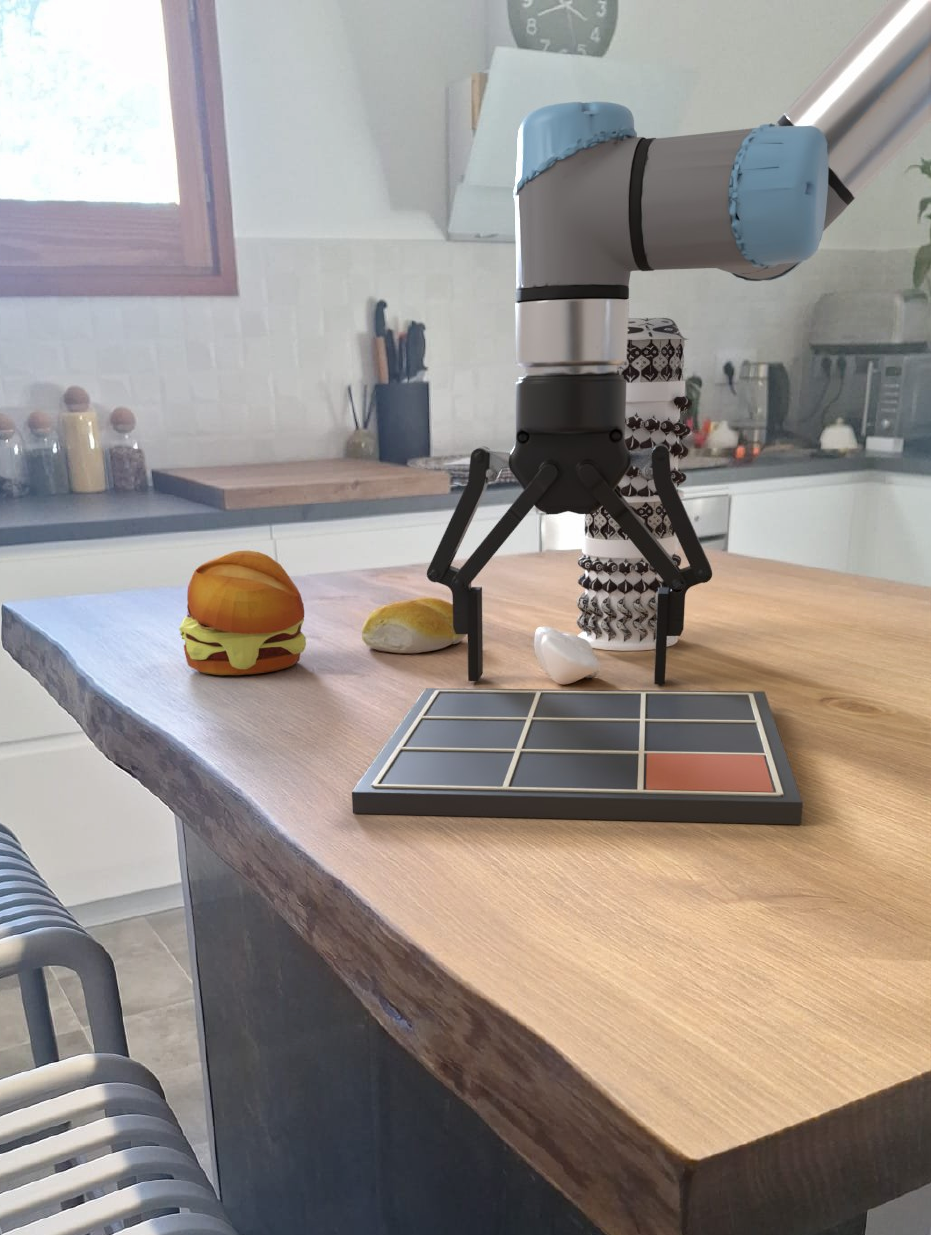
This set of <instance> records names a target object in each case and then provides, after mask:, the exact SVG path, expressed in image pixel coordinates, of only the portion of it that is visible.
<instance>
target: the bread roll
mask: <svg viewBox="0 0 931 1235" xmlns="http://www.w3.org/2000/svg"><path fill="white" fill-rule="evenodd" d="M466 636H467V634H456V633H455V631H454V628H453V603H451V602H449V601H447V600H445V599H442V598H439V597H433V596H420V597H416V598H413V599H409V600H399V601H394V602H390V603H387V604H385V605H382V606H379V607H377V608H376V609H374V610H372V611H371V612H370V613H369V614H368V616H367V618H366V619H365V621H364V623H363V625H362V628H361V639H362V641H363V643H364V644H365V645H366V646H367V647H369V648H371V649H373V650H376V651H379V652H386V653H391V654H421V653H428V652H433V651H438V650H441V649H445V648H447V647H449V646H450V645H455V644H459V643H461V642H462V641H463V640H464V638H465V637H466Z"/></svg>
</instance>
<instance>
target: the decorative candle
mask: <svg viewBox="0 0 931 1235" xmlns="http://www.w3.org/2000/svg"><path fill="white" fill-rule="evenodd" d="M687 340H689V338H686V337H684V336H683V335H682V333H681V331H680V330H679V327H678V324H677V323H676V321H674V320H673V319H672V318H668V317H634V318H633V317H631V318H629V317H628V339H627V361H626V362H625V363H624V364H620V365H618V370H619V375H624V379H625V380H626V412H625V442H626V445H627V447H628V449H629V451H631V450H639V449H646V448H653V447H654V446H656V445H657V444H664V445H666V446H667V447H668V450H669V456H670V470H671V478H672V480H673V483H674V485H675V487H676V489H677V492H678V494H679V496H680V498H681V499H682V498H683V499H684V498H685V492H684V491H683V490H682V489H679V488H678V487H679V486H680V485H681V484H683V483H684V482H686V480H687V475H686V473H684V472H683V471H681V470H680V469H679V461H680V462H681V461H682V459H684V458H686V457H687V456H688V455H689V452H690V451H689V448H688V447H687V446H686V445H684V443H683V442H682V441H683V439H685V438H687V437H688V436H689V435H690V433H691V432H692V431H691V430H692V429H691V427H690V426H689V425H687V424H685V422H684V421H682V422H681V421H680V420H681V414H682V413H683V414H685V413H686V412H688V411H690V410H691V409H692V408H693V405H694V401H693V399H691V398H690V397H688V396H687V395H685V394H686V380H684V374H683V369H684V365H685V355H684V348H685V341H687ZM616 489H617V490H618V491H619V492H620V494H621V495H622V496H623V497H624V499H625V500H626V501H627V502H628V504H629V506H630V507H631V508H632V509H633V511H634V512H635V513H636V514H637V516H638V517H639V518H640V519H641V521H642V522H643V523H644V524H645V526H646V527H647V528H648V529H649V531H650V532H651V533H652V534H653V536H654V537H655V538H656V539H657V541H658V542H659V543H660V544H661V546H662V547H663V548H664V549H665V551H666V552H667V553H668V554H669V556H670V557H671V558H672V559H673V561H674V562H675V563H676V564H677V566H678V567H681V563H682V557H681V556H679V555H678V554H677V553H678V552H679V544H680V542H679V540H678V538H677V536H676V533H675V531H674V529H673V527H672V525H671V522H670V520H669V518H668V516H667V513H666V511H665V509H664V507H663V505H662V502H661V500H660V498H659V496H658V493H657V491H656V488H655V484H654V480H646V479H645V478H643V476H642V474H641V472H640V470H639V469H638V468H637V467H635V466H630V468H629V470H628V471H627V473H626V474H625V475H624V477H623V478H622V480H621V481H620V482H619V484H618V485H617V486H616ZM583 530H584V533H583V534H582V535H581V552H582V553H583V555H581V556H580V557H579V558H578V560H577V565H578V566H579V567H580V568H582V569H583V570H584V571H585V572H584V573H582V574H581V575H580V576H579V578H578V579H577V584H578V585H579V586H580V587H582V588H583V589H584V591H583V593H582V594H581V595H579V597H578V598H577V600H576V606H577V608H578V610H579V611H581V613H580V614H579V615H578V617H577V619H576V625H577V626H578V628H579V629H580V630H581V631H582V632H580V633H578V635H577V636H579V637H581V638H583V639H585V640H587V641H588V643H589V644H590V645H591V647H592V649H598V650H604V651H619V652H620V651H621V652H630V651H631V652H632V651H635V652H637V651H649V650H650V651H651V650H655V646H656V622H657V598H658V587H668V586H667V584H666V583H665V582H664V581H663V579H662V578H661V577H660V576H659V575H658V573H657V572H656V571H655V570H654V568H653V567H652V566H651V565H650V563H649V562H648V561H647V560H646V558H645V557H644V556H643V555H642V553H641V552H640V551H639V550H638V548H637V547H636V546H635V545H634V544H633V542H632V541H631V540H630V539H629V537H628V536H627V535H626V534H625V532H624V531H623V530H622V529H621V527H620V526H619V525H618V524H617V522H616V521H615V520H614V519H613V518H612V517H611V516H610V515H609V514H608V512H607V511H606V510H605V509H604V507H603V506H602V507H601V508H599V509H598V510H597V511H594V512H592V513H591V514H584V529H583ZM678 642H679V636H667V646H666V648H669V647H671V646H674V645H676V644H677V643H678ZM607 645H608V646H607Z"/></svg>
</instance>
